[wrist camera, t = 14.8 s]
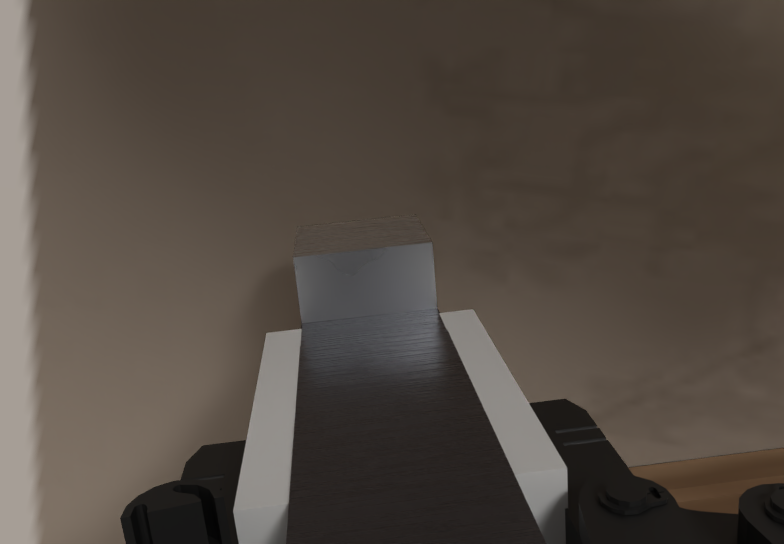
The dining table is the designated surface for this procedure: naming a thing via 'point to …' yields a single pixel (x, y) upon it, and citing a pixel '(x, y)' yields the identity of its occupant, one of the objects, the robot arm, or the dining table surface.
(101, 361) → the dining table surface
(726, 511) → the slot board
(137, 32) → the dining table surface
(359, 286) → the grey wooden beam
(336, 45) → the dining table surface
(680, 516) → the robot arm
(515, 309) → the dining table surface
